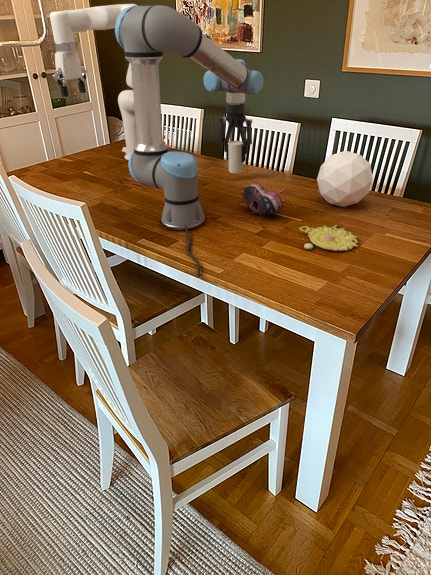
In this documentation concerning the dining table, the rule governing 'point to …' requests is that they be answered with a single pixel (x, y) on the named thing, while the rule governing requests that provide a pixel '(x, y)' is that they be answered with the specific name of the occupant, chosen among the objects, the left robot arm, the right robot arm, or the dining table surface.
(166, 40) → the right robot arm
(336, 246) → the decorative object
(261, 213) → the athletic shoe
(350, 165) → the sphere
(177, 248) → the dining table surface
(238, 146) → the canister
